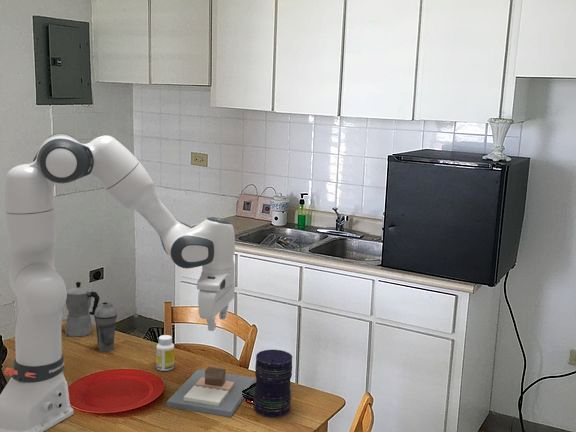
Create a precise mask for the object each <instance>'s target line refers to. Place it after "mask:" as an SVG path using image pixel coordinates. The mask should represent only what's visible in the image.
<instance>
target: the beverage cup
mask: <svg viewBox="0 0 576 432" xmlns="http://www.w3.org/2000/svg"><path fill="white" fill-rule="evenodd" d="M110 295H111V289H110V288H109V289H108V291H107V299H106V302H104V301H103V302H102V303H100V304H98V306H97V308H96V310H95V313H94V315H93V317H94V322H95V327H96V328H95V329H96V337H97V338H96V339H97V346H98V351H100V352H101V353H102V352H104V353H106V352H110V351H113V350H114V345H115V344H114V343H115V331H116V322H117V319H118V318H117V317H118V311H117V308H116V307H115V306H114V304H112V303H111V302H110Z"/></svg>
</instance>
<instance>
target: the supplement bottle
mask: <svg viewBox="0 0 576 432" xmlns="http://www.w3.org/2000/svg"><path fill="white" fill-rule="evenodd" d="M155 350H156V353H155V354H156V355H155V359H156V360H155V363H156V364H155V366H156V369H157V370H159V371H162V372H163V371H164V372H166V371H171V370H173V369H174V368H175V344H174V343H173V337H172V335H168V334H162V335H160V336H159V337H158V343H157V344H156V347H155Z"/></svg>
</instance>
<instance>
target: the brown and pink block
mask: <svg viewBox="0 0 576 432" xmlns="http://www.w3.org/2000/svg"><path fill="white" fill-rule="evenodd" d="M204 370H205V378H204V377H201V378H200V380H199V381H198V382H197V383H196V384H195V386H202V387H208V388H215V389H221V390H227V391H228V393H229V392H230V391H231V390H232V388H233V387H234V386H235V382H230V381H225V375H226V374H227V372H226V371H227V370H226V368H221V367H214V366H208V367H207V368H206V369H204Z"/></svg>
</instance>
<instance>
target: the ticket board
mask: <svg viewBox="0 0 576 432" xmlns="http://www.w3.org/2000/svg"><path fill="white" fill-rule="evenodd" d="M205 370H206V369H198V368H197V369H196V371H195V372H193V374H192V375H191V376H190V377H189V378H188V379H187V380H186V381H185V382H184V383H183V384H182V385H181V386H180V387H179V388H178V389H177V390H176V391H175V392H174V393H173V394H172V395H171V396H170V397H169V398H168V400H167V401H166V407H167V408H173V409H177V410H178V409H179V410H185V411H191V412H197V413H202V414H203V413H204V414H210V415H215V416H221V417H228V418H231V417H232V415H234V413H235V412H236V410H237V409H238V408H239V406H240V405H241V403H242V402H243V401H244V399H245V398H244V397H243V395H242V391H243V390H245V389H247V388H249V387H250V386H251V385H252V384H254V383H255V384H256V377H250V376H245V375H238V374H232V373H226V375H225V381H230V382H235V386H234V387H233V388H232V390H231V391H230V392H229V393H228V391H227V390H221V389H215V388H208V387H202V386H195V384H196V383H197V382H198V381H199V380H200V378H201V377H204V378H205ZM255 384H254V385H255Z"/></svg>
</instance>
